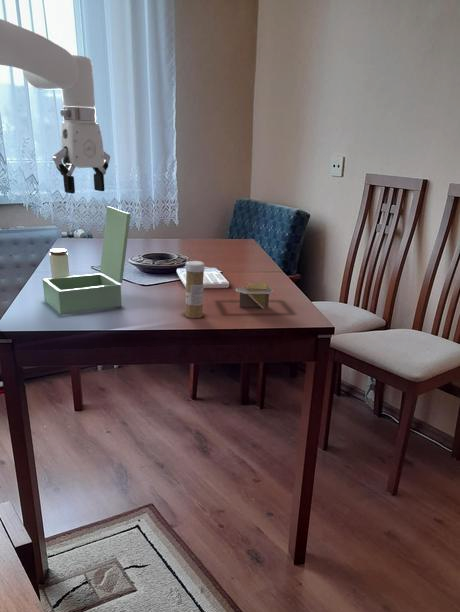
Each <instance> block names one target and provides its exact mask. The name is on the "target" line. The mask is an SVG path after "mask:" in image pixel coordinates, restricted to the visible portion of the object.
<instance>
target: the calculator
mask: <svg viewBox="0 0 460 612" xmlns="http://www.w3.org/2000/svg"><path fill="white" fill-rule="evenodd" d="M176 274H177V276H178V278H179V279H180V281H181V282H182V284H183V286H184V288H186V267H178V268H176ZM203 283H204V286H203V289H228V288H229V287H230V282H229V280H228V279H226V277H225V276H224V275H223V274H222V273H221V271H220V270H219V269H217V268H216V267H204V276H203Z"/></svg>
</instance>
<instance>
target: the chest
mask: <svg viewBox="0 0 460 612" xmlns="http://www.w3.org/2000/svg"><path fill="white" fill-rule="evenodd" d="M42 287H43V288H42V289H43V298H44V301H45V302H46V303H47V304H48V305H49V306H50V307H52V309H54V310H55V311H56V312H57V313H59V314H60V315H64V314H72V313H80V312H87V311H88V312H89V311H95V310H103V309H110V308H111V309H112V308H119V307H123V305H122V285H121V283H119V282H117V281H116V280H114V279H112V278H111V277H109V276H107V275H105V274H104V273H102V272H101V273H92V274H91V273H89V274H80V275H70V276H69V277H59V278H52V277H49V278H42Z"/></svg>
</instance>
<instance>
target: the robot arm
mask: <svg viewBox="0 0 460 612" xmlns="http://www.w3.org/2000/svg"><path fill="white" fill-rule="evenodd" d="M93 65H94V64H93V62H92V60H91V59H90V57H87V56H85V55H84V56H83V55H77V54H76V55H75V54H74V55H73V54H71V53H70V52H69V51H68V50H67V49H66V48H64V47H62V46H60V45H58V44H57V43H55V42H53V41H52V40H50V39H48V38H47V37H46V36H45V37H44V36H42V35H41V34H38V33H36V32H35V31H33V30H29V29H27V28H24V27H22V26H19V25H17V24H14V23H12V22H10V21H7V20H5V19H2V18H0V66H6V67H11V68H16V69H20V70H22V73H23V75H24V78H25V79H26V82H28V83H29V84H30V85H31V86H32V87H34V88H36V89H38V90H43V91H53V90H56V91H57V90H61V99H62V100H61V101H62V109H61V110H60V111H59V113H60V116H61V117H63V121H62V123H61V135H60V136H61V137H60V140H61V143H60V144H61V148H60V149H61V150H59V151H58V152H56V153H55V154H54V155H53V156H52V160H53V162H54V165H55V168H56V169H57V170H58V171H59V173H60V175H61V176H62V179H63V189H64V193H66V194H71V195H73V194H75V193H76V185H75V176H74V175H73V173H74V171H75V169H76V168H78V169H86V168H88V169H89V168H91V169H92V170H93V171H94V173H93V186H94V190H95V191H98V192H105V175H106V174H107V172H106V171H107V170H108V168H109V163H110V161H111V155H110V154H108V153H107V152H106V151H105V150H104V141H103V136H102V131H101V127H100V124H99V123H97V116H96V115H97V114H96V100H95V84H94V83H95V82H94V66H93Z"/></svg>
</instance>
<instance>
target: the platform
mask: <svg viewBox="0 0 460 612" xmlns="http://www.w3.org/2000/svg"><path fill="white" fill-rule="evenodd" d="M245 285H246V287H236V288H235V291H236V292H237V293H239V301H238V302H239V304H238V308H261V309H263V310H264V309H266V308H268V307H269V300H270V299H269V298H270V295H271V294H273V292H274V288H273V287H269V284H268V283H267V282H266V283H264V282H262V283H261V282H246V283H245Z"/></svg>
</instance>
